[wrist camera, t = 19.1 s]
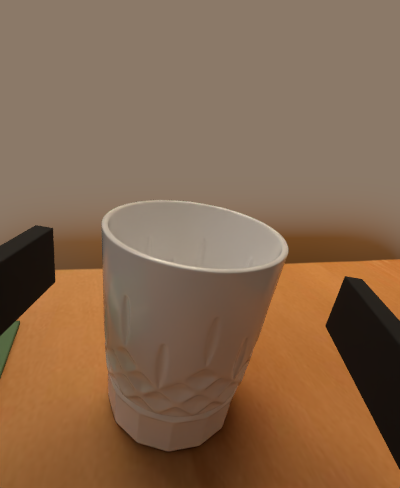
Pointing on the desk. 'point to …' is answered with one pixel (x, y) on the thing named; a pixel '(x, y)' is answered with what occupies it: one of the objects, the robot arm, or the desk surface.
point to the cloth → (7, 343)
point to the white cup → (182, 314)
